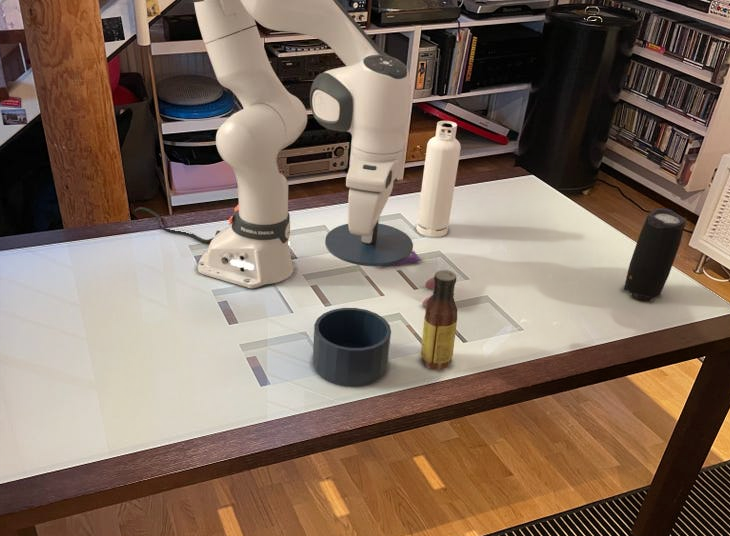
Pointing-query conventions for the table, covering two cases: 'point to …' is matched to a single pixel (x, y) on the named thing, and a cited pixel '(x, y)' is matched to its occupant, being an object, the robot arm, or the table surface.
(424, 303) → the video game controller
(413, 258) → the snack package
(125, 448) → the table surface
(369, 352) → the round dark pot
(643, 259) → the portable speaker
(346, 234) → the lid
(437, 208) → the white gas cylinder
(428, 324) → the sauce bottle
